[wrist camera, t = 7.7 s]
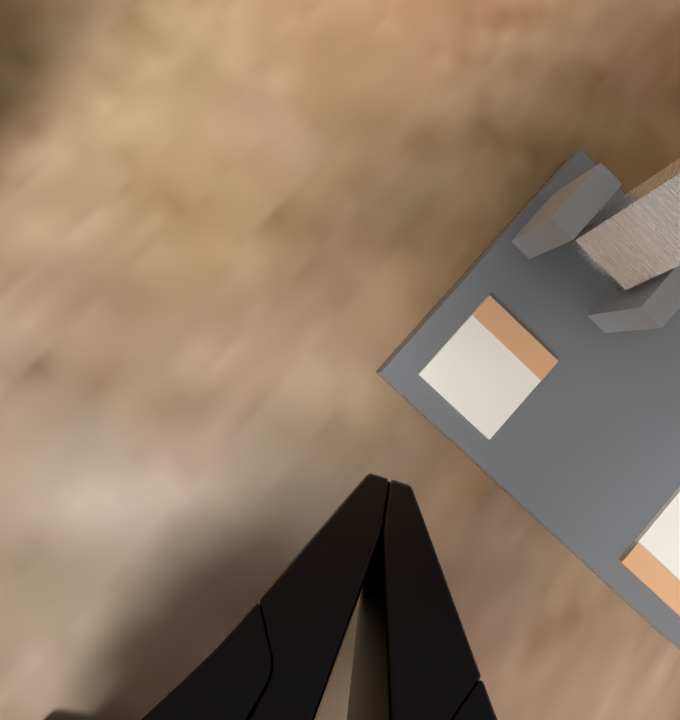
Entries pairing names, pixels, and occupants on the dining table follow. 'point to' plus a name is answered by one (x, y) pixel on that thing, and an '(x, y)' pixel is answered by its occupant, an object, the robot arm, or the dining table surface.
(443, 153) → the dining table surface
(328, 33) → the dining table surface
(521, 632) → the dining table surface
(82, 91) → the dining table surface
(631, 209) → the lever
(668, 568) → the switch box
